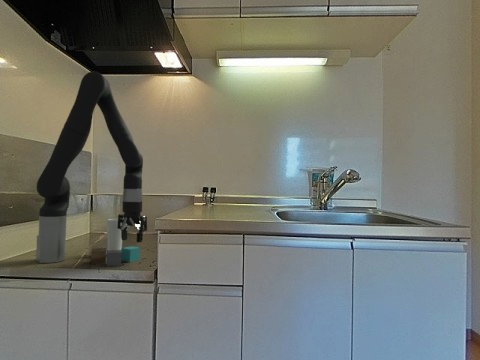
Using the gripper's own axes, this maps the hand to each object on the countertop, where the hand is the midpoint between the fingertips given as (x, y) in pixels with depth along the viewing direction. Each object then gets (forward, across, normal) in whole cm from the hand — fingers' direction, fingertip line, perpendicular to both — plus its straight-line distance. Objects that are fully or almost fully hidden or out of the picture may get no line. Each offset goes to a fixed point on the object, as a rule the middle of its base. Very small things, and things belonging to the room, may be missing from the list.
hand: (131, 241), depth 133 cm
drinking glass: (+8, -13, +2) cm, 15 cm away
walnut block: (+8, -7, -10) cm, 14 cm away
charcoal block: (+8, 0, -9) cm, 12 cm away
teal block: (+8, 0, 0) cm, 8 cm away
